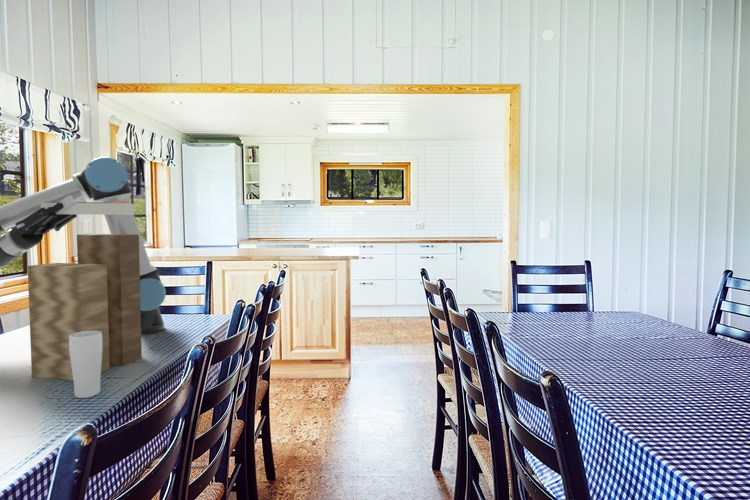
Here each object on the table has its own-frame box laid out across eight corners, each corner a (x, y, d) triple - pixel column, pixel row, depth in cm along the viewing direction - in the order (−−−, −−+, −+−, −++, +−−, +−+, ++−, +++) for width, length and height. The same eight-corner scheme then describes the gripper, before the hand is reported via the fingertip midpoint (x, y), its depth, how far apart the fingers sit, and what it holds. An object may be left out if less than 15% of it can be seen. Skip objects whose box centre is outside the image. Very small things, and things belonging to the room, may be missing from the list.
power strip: (41, 213, 132) (40, 200, 132) (51, 214, 136) (51, 201, 136) (125, 214, 128) (124, 201, 127) (134, 214, 131) (133, 201, 131)
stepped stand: (31, 376, 121) (26, 235, 119) (93, 354, 142) (89, 233, 139) (87, 381, 118) (82, 236, 116) (141, 357, 139) (138, 234, 136)
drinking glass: (80, 390, 112) (79, 330, 111) (109, 389, 112) (107, 330, 111) (64, 400, 105) (62, 337, 104) (94, 400, 106) (93, 337, 105)
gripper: (51, 247, 144) (106, 211, 140) (-1, 250, 128) (59, 209, 124) (41, 227, 145) (95, 190, 140) (-12, 227, 128) (47, 186, 124)
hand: (78, 199), depth 132 cm, fingers closed on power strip, 4 cm apart
